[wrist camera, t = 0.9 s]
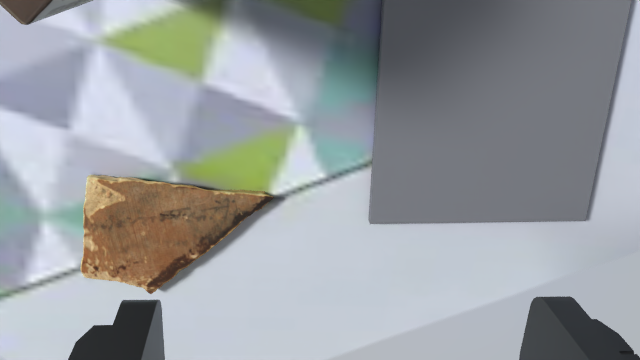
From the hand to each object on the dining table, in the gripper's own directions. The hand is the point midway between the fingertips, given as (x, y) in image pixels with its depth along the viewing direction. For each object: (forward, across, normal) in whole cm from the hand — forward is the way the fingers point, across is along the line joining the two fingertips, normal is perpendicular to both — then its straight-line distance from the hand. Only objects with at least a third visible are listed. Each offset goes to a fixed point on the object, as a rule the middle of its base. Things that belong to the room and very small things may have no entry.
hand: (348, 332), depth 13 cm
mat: (+23, -12, 0) cm, 26 cm away
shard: (+24, +8, +8) cm, 26 cm away
